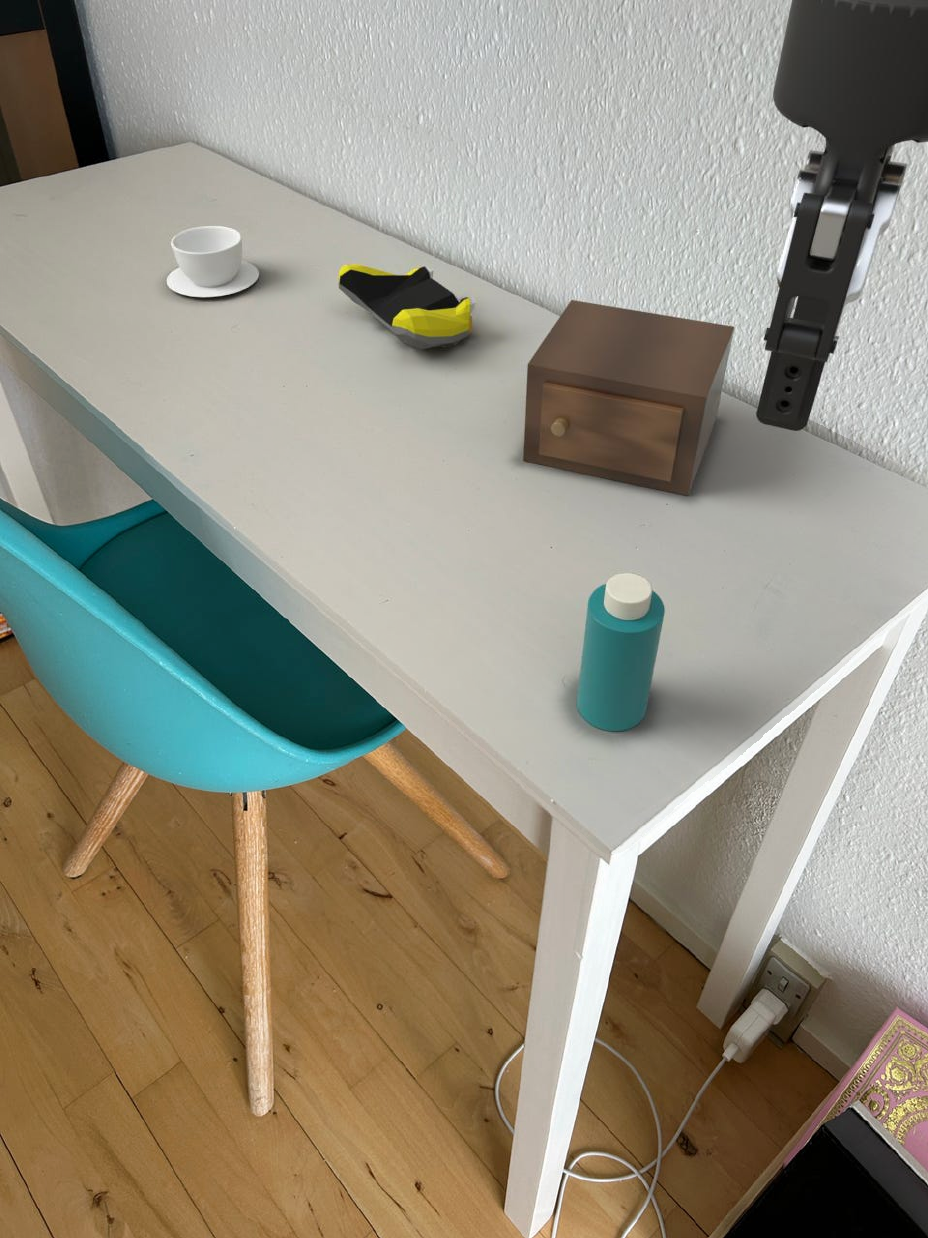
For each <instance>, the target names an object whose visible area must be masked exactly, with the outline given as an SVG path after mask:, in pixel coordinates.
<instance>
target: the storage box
mask: <svg viewBox="0 0 928 1238" xmlns="http://www.w3.org/2000/svg"><path fill="white" fill-rule="evenodd" d="M734 333H735V326H733V325H726V324H720V323H714V322H708V321H702V320H695V319H689V318H684V317H678V316H672V315H665V314H660V313H653V312H648V311H642V310H636V309H628V308H624V307H617V306H611V305H605V304H598V303H593V302H586V301H582V300H581V301H580V300H575V299H571V300H570V302H569V303H568V304H567V306H566V307H565V308H564V310H563V311H562V313H561V315H559V318H558V319H557V320H556V322H555V323H554V325H553V326H552V328H551V329H550V330H549V332H548V333H547V335H546V336H545V338H544V339H543V341H542V342H541V344H540V345H539V347H538V348H537V349H536V351H535V353H534V354H533V355H532V357H531V358H530V359H529V361H528V363H527V365H526V366H527V367H526V368H527V369H526V373H527V374H526V386H525V387H526V390H525V391H526V392H525V408H524V409H525V413H524V431H523V432H524V434H523V455H522V461H523V462H528V463H532V464H537V465H542V466H546V467H550V468H556V469H559V470H565V471H569V472H574V473H579V474H583V475H589V476H593V477H598V478H603V479H607V480H610V481H611V480H612V481H616V482H620V483H621V482H622V483H626V484H630V485H635V486H639V487H645V488H649V489H653V490H659V491H663V492H668V493H672V494H676V495H677V494H678V495H681V496H686V497H687V496H689V495H690V492H691V490H692V487H693V483H694V481H695V479H696V476H697V473H698V471H699V467H700V466H701V462H702V459H703V457H704V454H705V451H706V449H707V446H708V443H709V441H710V437H711V435H712V433H713V429H714V427H715V424H716V421H717V415H718V411H719V406H720V403H721V398H722V397H721V396H722V391H723V386H724V382H725V377H726V372H727V366H728V362H729V358H730V352H731V346H732V341H733V337H734Z"/></svg>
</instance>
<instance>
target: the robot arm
mask: <svg viewBox="0 0 928 1238" xmlns="http://www.w3.org/2000/svg"><path fill="white" fill-rule="evenodd" d="M788 12H789V13H788V18H787V22H786V26H785V32H784V38H783V42H782V47H781V52H780V56H779V60H778V61H779V62H778V66H777V72H776V76H775V82H774V85H773V91H772V98H773V99H772V100H773V103H774V105H775V106H774V107H775V108H776V109H777V111H778V112H779V113H780V115H781V116H783V117H784V118H785V119H787V120H789V122H791V123H793V124H795V125H797V126H799V127H801V128H811V129H813V130H815V131H817V132H818V133H819V134H820V135H822V136H823V137H824V138H825V147H824V150H823V151H820V150H813V149H811V150H809V152H808V155H807V158H806V161H805V165H804V169H799V171H798V174H797V177H796V182H795V184H794V188H793V190H792V194H791V197H790V211H789V212H790V217H791V221H790V225H789V228H788V230H787V231H788V232H787V234H786V238H785V242H784V246H783V248H782V251H781V255H780V259H779V263H778V265H777V269H776V284H777V286H778V288H779V289H778V292H777V295H776V300H775V304H774V309H773V311H772V316H771V320H770V325H769V327H766V329H765V332H764V337H763V341H765V345H764V350H765V351H768V352H770V356H769V359H768V363H767V368H766V371H765V375H764V379H763V383H762V388H761V392H760V397H759V401H758V404H757V409H756V412H755V417H756V419H757V421H758V422H759V423H761V424H763V425H765V426H771V427H775V428H780V429H785V430H789V431H794V432H799V431H801V430H804V429H805V428H806V426H807V425H808V423H809V419H810V416H811V413H812V410H813V406H814V402H815V398H816V396H817V392H818V390H819V385H820V382H821V379H822V376H823V372H824V369H825V364H826V363H828V361H829V358H830V356H831V354H832V355H834V353H835V351H836V348H837V346H838V342H839V339H840V336H839V335H837V333H838V331H839V326H840V325H841V324H840V323H841V321H842V316H843V313H844V309H845V307H846V306H847V305H848V304H850V303H854V302H856V301H857V300H859V298H860V297H861V295H862V294H863V292H864V291H863V290H864V287H865V284H866V281H867V278H868V274H869V271H870V268H871V265H872V261H873V258H874V255H875V251H876V247H877V244H878V242H879V238H880V236H881V235H882V234H883V233H885V232H886V231H887V230H888V228H889V226H890V224H891V220H892V217H893V215H894V211H895V207H896V204H897V202H898V198H899V194H900V191H901V188H902V184H903V181H904V178H905V174H906V171H907V168H908V163H905V162H899V161H891V159H892V155H893V152H894V150H895V146H896V145H897V144H900V143H903V142H909V141H913V142H915V143H918V144H921V143H928V0H791V3H790V7H789V11H788ZM796 299H797V300H796ZM795 303H796V304H795ZM794 306H795V308H794ZM793 309H794V312H793ZM792 312H793V315H792ZM791 316H792V317H791Z"/></svg>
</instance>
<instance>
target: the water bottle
mask: <svg viewBox="0 0 928 1238" xmlns="http://www.w3.org/2000/svg"><path fill="white" fill-rule="evenodd" d="M665 613H666V608H665V604H664V602H663V600H662V598H661V597H660V595H659V594H658V593H657V592H656V591H654V590H653V588H652V585H651V583H650V582H649V581H648V580H647V579H646V578H644V576H641V575H639V574H636V573H631V572H624V573H618V574H615V575H613V576H611V577H610V578H609V579H608V580H607V582H606V583H604V584H602V585H600V586H598V587H597V588H595V590H593V591H592V593H591V594H590V595H589V597H588V601H587V608H586V617H585V626H584V634H583V635H584V636H583V643H582V650H581V651H582V652H581V661H580V670H579V678H578V687H577V696H576V708H577V710H578V713H579V714H580V716H581V717H582V718H583V720H584V721H585V722H586V723H588V724H589V725H591V726H593V727H594V728H597V729H599V730H603V731H607V732H622V731H627V730H630V729H632V728H634V727H636V726H637V725H639V724H640V723H641V722H642V721H643V719H644V718H645V715H646V713H647V709H648V703H649V698H650V697H649V696H650V693H651V688H652V687H651V686H652V682H653V676H654V672H655V667H656V660H657V656H658V651H659V645H660V639H661V634H662V628H663V623H664V618H665Z"/></svg>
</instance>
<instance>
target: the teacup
mask: <svg viewBox="0 0 928 1238" xmlns="http://www.w3.org/2000/svg"><path fill="white" fill-rule="evenodd" d="M242 241H243V238H242V234H241V233H240V231H238V230H236V229H234V228H231V227H227V226H222V225H203V226H196V227H192V228H188V229H185V230H182V231H181V232H178V233H177V234H175V235H174V237H173V238H172V239H171V242H170V245H171V249H172V251H173V254H174V257H175V260H176V262H177V265H178V267H176V268H175V269H174V270H172V272H170V273H169V274H168V276H167V278H166V284H167V287H168V288H169V289H170V290H171V291H173V292H175V293H177V294H180V295H183V296H188V297H194V298H214V297H223V296H226V295H227V296H228V295H231V294H232V295H233V294H236V293H239V292H241V291H243V290H246V289H247V288H249V287H250V286H253V284H254V283H256V282H257V280H258V278H259V277H260V272H259V269H258V268H257V267H256V266H255V265H254V264H252V263H250V262H249V261H246V260H243V242H242Z"/></svg>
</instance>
